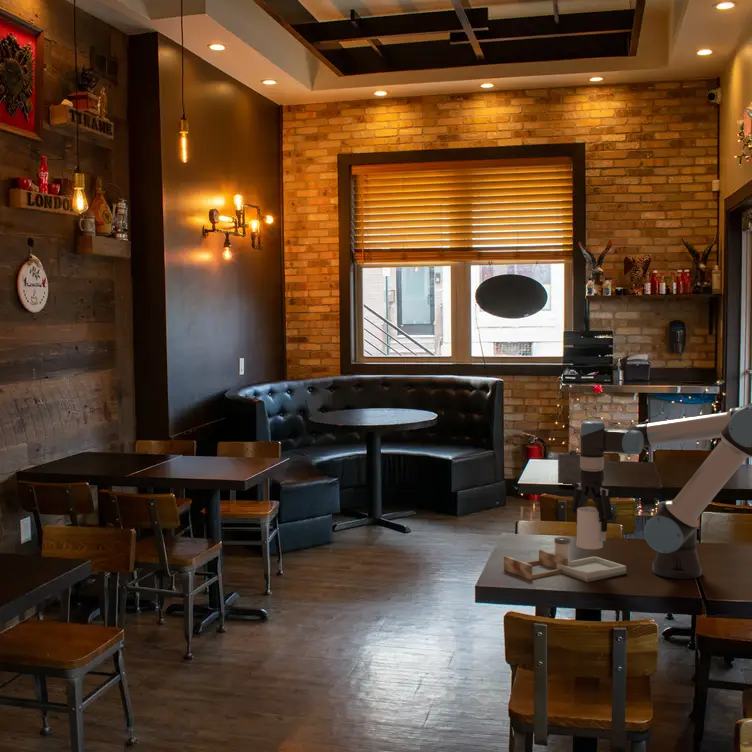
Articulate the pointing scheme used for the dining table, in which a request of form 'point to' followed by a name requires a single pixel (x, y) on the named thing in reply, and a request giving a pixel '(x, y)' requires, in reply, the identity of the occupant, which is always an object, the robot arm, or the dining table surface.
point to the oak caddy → (526, 567)
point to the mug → (588, 528)
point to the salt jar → (562, 547)
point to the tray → (592, 568)
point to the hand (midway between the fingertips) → (591, 537)
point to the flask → (569, 468)
